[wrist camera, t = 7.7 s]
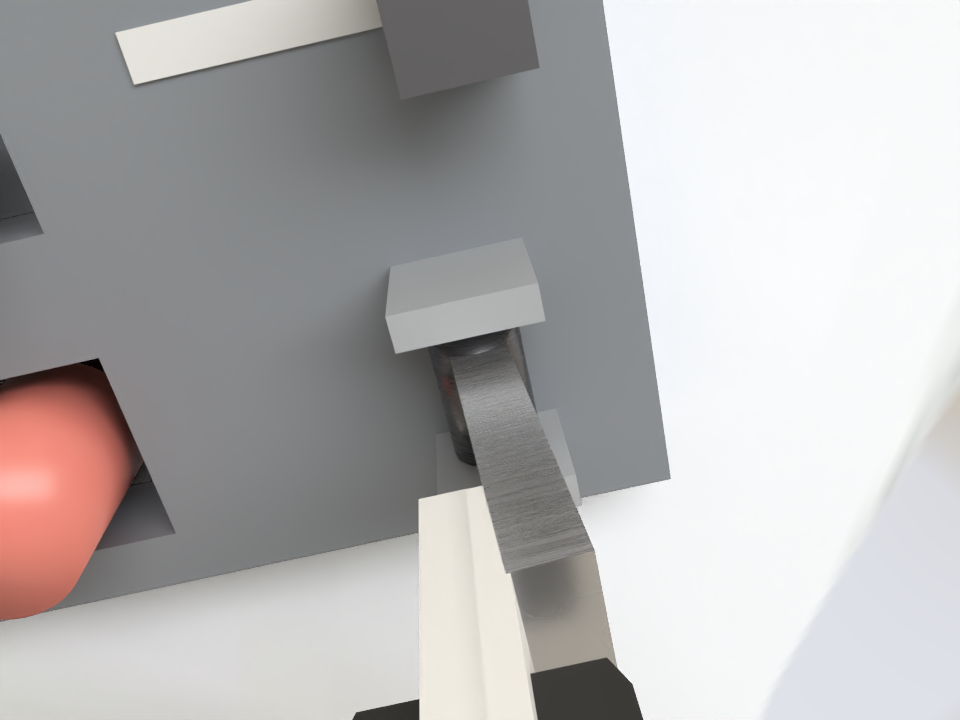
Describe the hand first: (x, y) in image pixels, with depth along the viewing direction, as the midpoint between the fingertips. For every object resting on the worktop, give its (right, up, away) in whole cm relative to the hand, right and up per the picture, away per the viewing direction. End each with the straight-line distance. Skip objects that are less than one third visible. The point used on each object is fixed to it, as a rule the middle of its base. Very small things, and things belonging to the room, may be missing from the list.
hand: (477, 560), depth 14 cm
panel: (-7, +6, +8) cm, 12 cm away
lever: (0, +3, +5) cm, 6 cm away
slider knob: (-1, +10, +3) cm, 11 cm away
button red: (-11, +1, +9) cm, 14 cm away
